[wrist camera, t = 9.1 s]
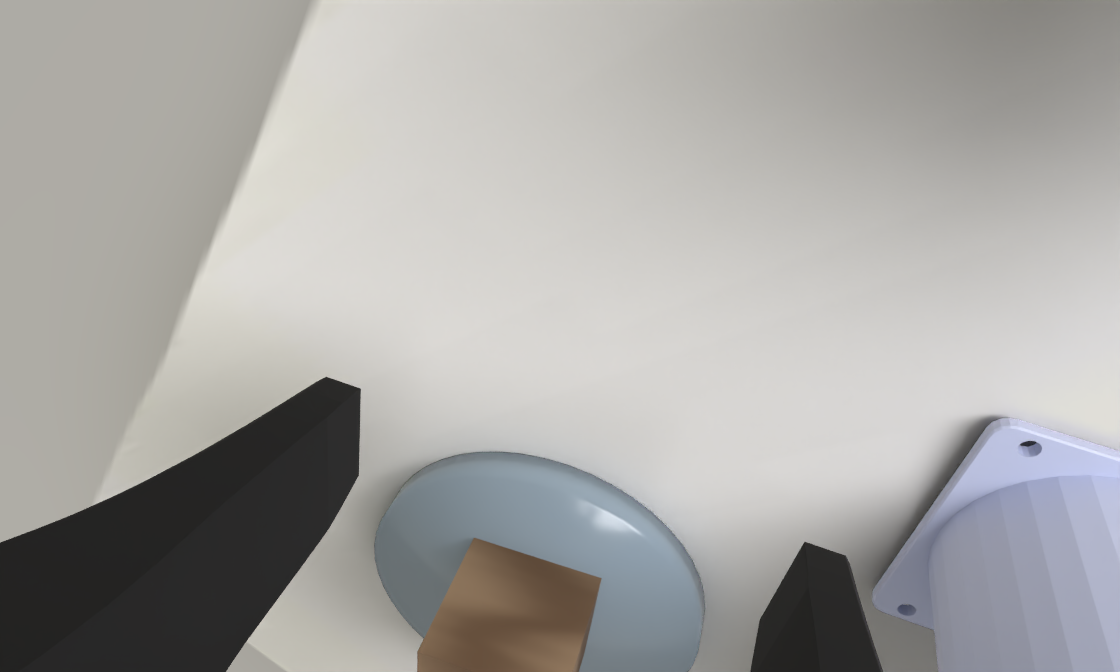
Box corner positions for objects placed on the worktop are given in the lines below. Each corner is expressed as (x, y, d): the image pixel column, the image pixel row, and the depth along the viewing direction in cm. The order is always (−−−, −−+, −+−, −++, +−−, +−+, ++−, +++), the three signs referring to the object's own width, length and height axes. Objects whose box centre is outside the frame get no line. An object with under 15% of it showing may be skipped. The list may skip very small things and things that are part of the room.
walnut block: (601, 578, 26) (563, 703, 23) (584, 653, 29) (547, 775, 25) (474, 537, 27) (417, 652, 24) (468, 614, 30) (417, 727, 26)
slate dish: (751, 528, 25) (747, 558, 24) (657, 716, 32) (651, 745, 31) (396, 405, 26) (379, 429, 25) (383, 611, 34) (370, 636, 33)
